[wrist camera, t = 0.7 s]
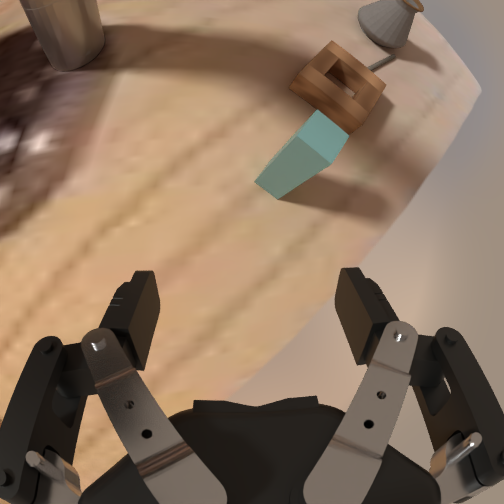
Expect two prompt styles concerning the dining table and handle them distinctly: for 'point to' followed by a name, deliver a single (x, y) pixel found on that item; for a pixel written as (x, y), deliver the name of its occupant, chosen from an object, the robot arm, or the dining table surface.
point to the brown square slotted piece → (330, 95)
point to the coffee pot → (389, 21)
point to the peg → (303, 155)
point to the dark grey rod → (381, 62)
